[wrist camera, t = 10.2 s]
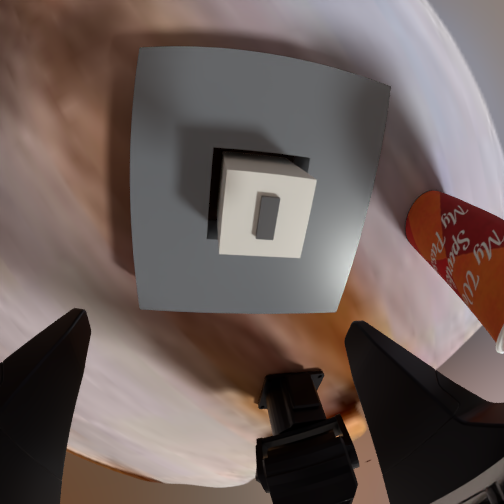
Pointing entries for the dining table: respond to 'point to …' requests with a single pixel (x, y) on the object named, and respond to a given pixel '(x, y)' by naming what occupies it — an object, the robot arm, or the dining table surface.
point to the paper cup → (463, 253)
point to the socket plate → (255, 139)
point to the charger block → (262, 205)
